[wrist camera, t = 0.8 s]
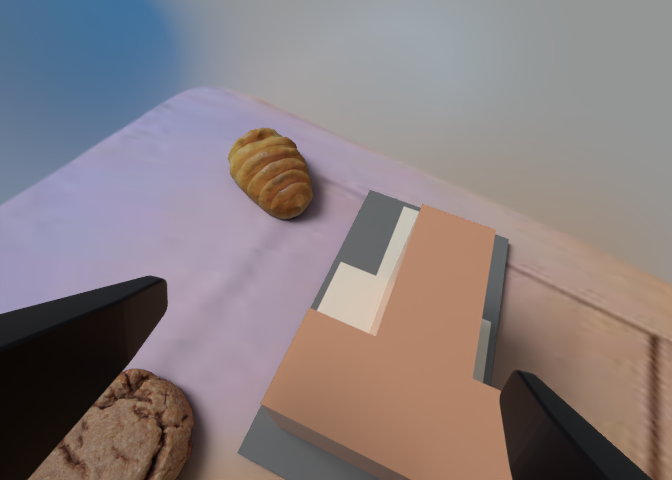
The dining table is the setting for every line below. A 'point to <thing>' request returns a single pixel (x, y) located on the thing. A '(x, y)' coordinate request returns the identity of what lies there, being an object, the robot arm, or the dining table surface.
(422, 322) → the tee
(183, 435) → the cookie
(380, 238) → the board
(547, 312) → the dining table surface
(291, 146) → the pastry
